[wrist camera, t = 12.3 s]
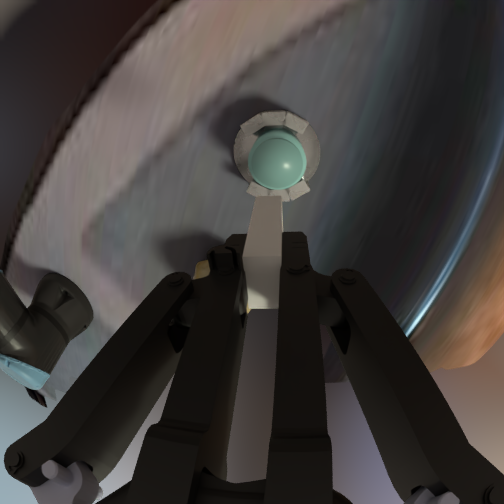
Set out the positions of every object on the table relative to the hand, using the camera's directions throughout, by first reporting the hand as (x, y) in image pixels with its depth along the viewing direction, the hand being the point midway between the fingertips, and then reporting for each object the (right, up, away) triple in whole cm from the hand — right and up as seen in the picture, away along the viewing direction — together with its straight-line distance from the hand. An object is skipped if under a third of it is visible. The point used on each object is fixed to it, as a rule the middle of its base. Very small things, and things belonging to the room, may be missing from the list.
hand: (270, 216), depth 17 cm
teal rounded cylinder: (+2, +10, +16) cm, 19 cm away
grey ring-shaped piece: (+2, +10, +16) cm, 19 cm away
